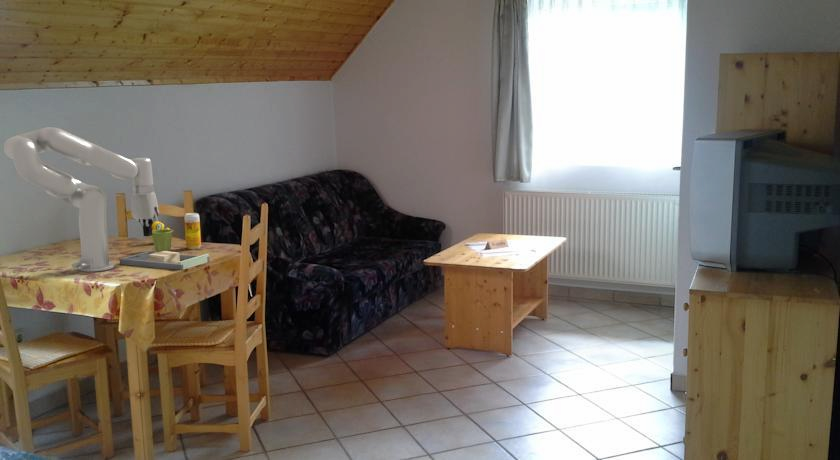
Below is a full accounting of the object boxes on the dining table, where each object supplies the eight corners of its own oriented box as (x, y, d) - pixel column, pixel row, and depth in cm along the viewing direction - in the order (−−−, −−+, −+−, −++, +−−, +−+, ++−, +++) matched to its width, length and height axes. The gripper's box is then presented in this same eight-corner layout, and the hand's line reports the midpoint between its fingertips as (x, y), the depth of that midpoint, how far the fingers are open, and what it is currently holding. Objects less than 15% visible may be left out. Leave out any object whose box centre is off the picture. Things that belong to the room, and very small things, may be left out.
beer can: (184, 249, 326) (182, 214, 323) (189, 247, 332) (187, 212, 329) (198, 249, 326) (196, 214, 323) (203, 247, 332) (201, 212, 329)
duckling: (151, 246, 335) (149, 223, 333) (144, 244, 338) (143, 222, 337) (174, 242, 343) (173, 220, 342) (167, 240, 347) (166, 219, 345)
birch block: (164, 266, 295) (164, 256, 294) (149, 264, 298) (149, 254, 298) (180, 262, 302) (179, 252, 301) (165, 260, 305) (164, 250, 305)
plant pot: (159, 254, 316) (158, 233, 315) (146, 251, 322) (145, 231, 321) (179, 250, 324) (177, 230, 322) (165, 248, 329) (164, 228, 328)
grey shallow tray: (181, 270, 287) (180, 262, 286) (119, 263, 298) (119, 256, 298) (209, 261, 301) (208, 254, 301) (149, 255, 313) (149, 248, 313)
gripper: (121, 190, 298) (126, 236, 302) (151, 191, 292) (156, 238, 296) (135, 187, 305) (140, 233, 308) (165, 188, 299) (169, 234, 302)
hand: (148, 235), depth 302 cm, fingers closed
